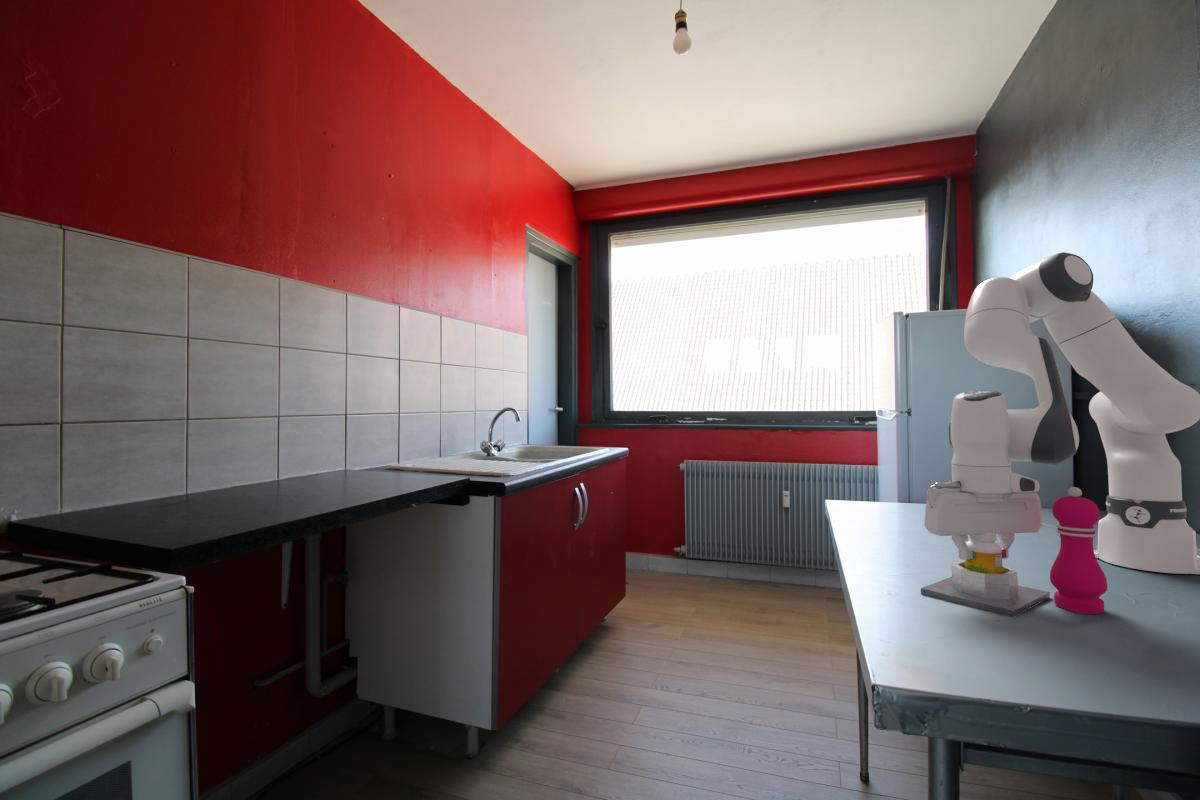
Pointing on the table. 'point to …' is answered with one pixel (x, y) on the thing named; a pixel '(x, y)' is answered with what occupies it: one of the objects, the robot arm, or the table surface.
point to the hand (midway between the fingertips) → (983, 558)
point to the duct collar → (986, 590)
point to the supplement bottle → (985, 554)
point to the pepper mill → (1077, 556)
